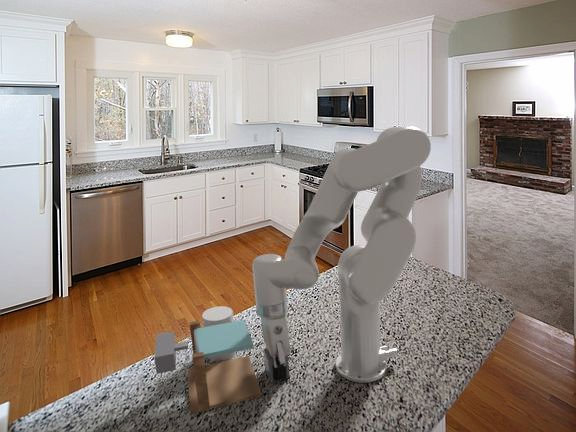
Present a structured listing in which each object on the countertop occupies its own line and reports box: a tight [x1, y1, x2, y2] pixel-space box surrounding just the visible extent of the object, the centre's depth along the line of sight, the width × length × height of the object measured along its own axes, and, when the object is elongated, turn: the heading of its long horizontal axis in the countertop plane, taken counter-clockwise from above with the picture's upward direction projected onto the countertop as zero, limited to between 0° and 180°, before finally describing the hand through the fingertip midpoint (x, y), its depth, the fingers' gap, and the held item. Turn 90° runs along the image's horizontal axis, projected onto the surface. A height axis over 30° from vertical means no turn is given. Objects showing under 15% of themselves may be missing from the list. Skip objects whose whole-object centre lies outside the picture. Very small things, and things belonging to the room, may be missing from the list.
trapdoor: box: [154, 319, 255, 375], centre depth 88 cm, size 21×13×4 cm, turn 106°
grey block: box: [263, 347, 291, 383], centre depth 94 cm, size 5×5×6 cm
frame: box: [187, 320, 263, 414], centre depth 90 cm, size 16×16×14 cm
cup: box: [201, 305, 237, 362], centre depth 103 cm, size 8×8×12 cm
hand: (277, 371), depth 94 cm, fingers closed on grey block, 5 cm apart
